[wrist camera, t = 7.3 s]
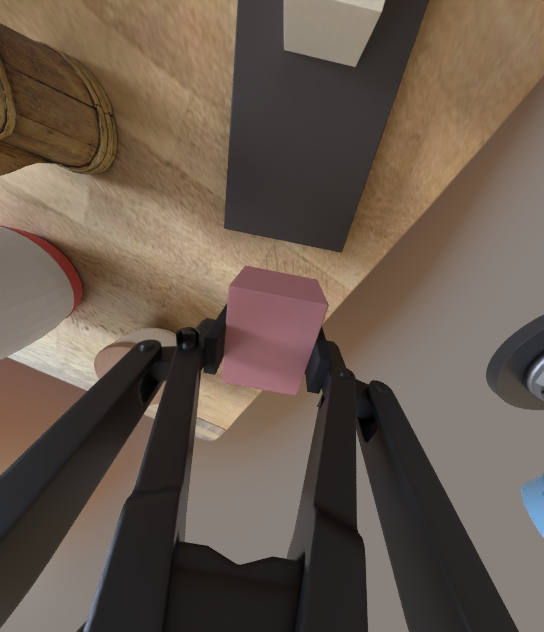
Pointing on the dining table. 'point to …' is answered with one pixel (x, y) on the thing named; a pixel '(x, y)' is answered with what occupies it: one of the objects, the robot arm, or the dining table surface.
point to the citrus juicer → (33, 289)
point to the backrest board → (308, 125)
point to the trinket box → (125, 344)
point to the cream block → (330, 28)
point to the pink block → (271, 329)
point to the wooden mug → (51, 109)
